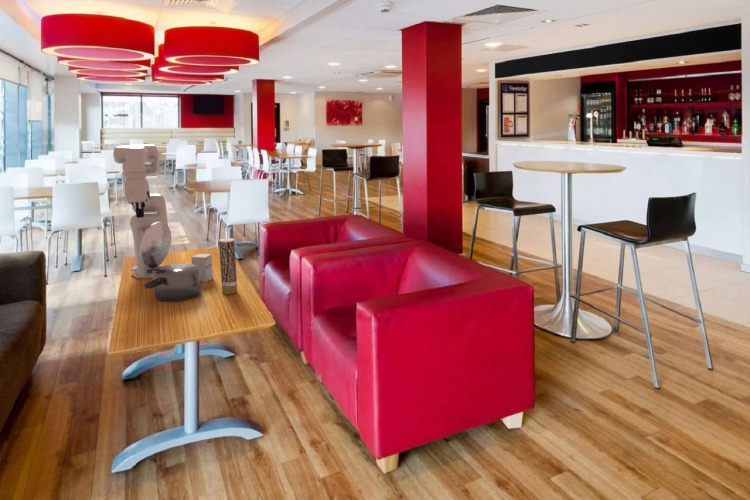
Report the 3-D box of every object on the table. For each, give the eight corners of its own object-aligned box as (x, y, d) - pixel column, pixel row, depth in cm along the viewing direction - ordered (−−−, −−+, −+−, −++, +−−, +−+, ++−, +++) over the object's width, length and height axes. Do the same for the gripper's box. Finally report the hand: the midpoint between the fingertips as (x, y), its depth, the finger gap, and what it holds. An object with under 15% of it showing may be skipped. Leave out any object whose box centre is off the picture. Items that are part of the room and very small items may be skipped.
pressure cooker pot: (123, 306, 234) (120, 279, 231) (166, 286, 262) (164, 262, 259) (171, 311, 228) (168, 283, 225) (209, 290, 256) (207, 265, 254)
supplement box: (206, 282, 268) (204, 257, 265) (192, 281, 270) (190, 256, 267) (213, 278, 275) (212, 254, 273) (200, 277, 277) (198, 253, 274)
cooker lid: (140, 273, 239) (133, 271, 240) (169, 261, 259) (163, 259, 260) (143, 227, 234) (136, 225, 234) (172, 218, 253) (166, 217, 254)
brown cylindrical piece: (230, 289, 257) (227, 237, 252) (240, 292, 254) (237, 239, 248) (219, 293, 252) (215, 240, 246) (229, 295, 248) (225, 241, 242)
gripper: (115, 176, 239) (120, 217, 243) (145, 177, 235) (149, 219, 240) (127, 174, 246) (131, 215, 250) (156, 175, 243) (160, 216, 247)
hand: (140, 217), depth 245 cm, fingers closed
